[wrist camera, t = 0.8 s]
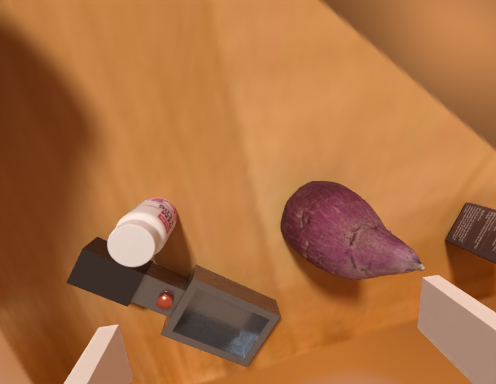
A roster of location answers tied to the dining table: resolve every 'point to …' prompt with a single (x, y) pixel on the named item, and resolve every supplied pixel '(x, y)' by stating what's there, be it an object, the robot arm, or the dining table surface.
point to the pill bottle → (142, 232)
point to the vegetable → (343, 234)
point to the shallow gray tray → (183, 302)
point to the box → (476, 231)
